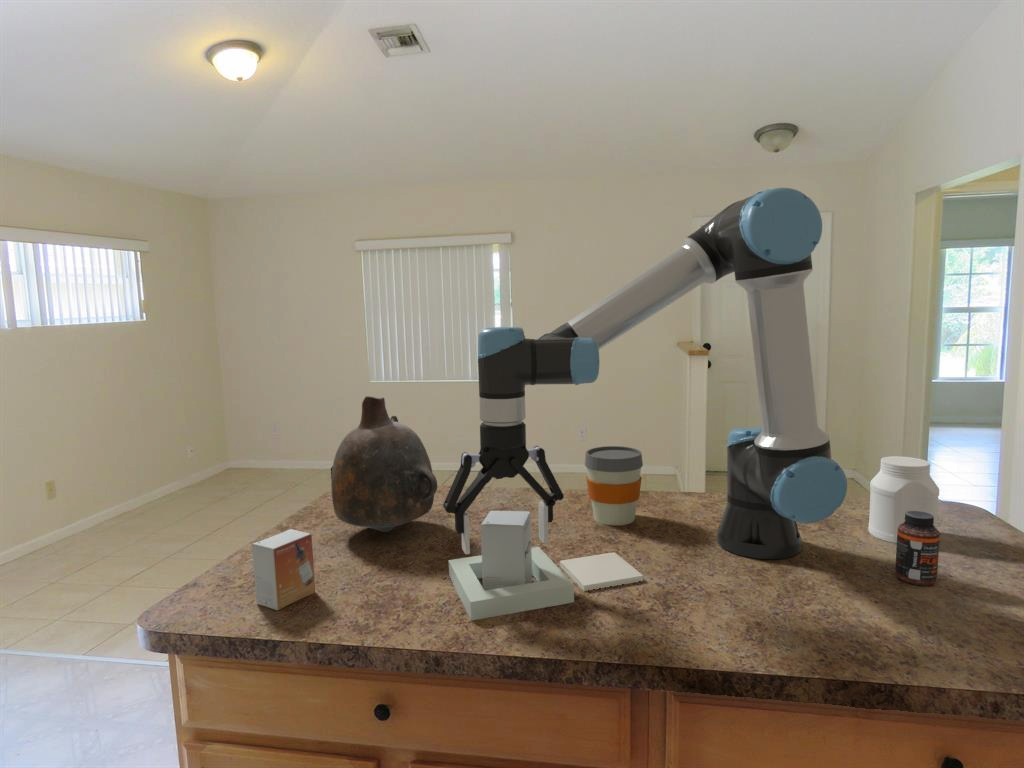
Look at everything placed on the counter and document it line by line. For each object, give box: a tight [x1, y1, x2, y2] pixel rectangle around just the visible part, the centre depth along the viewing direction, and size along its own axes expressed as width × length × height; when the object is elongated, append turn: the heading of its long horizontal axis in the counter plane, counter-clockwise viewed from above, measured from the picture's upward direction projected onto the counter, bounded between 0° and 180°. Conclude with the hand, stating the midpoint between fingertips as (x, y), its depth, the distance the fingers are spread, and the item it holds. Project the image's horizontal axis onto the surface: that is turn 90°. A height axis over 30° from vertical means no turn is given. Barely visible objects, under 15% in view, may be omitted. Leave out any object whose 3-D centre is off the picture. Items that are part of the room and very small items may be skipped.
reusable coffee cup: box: [584, 445, 644, 526], centre depth 139 cm, size 13×13×15 cm
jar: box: [868, 455, 940, 544], centre depth 125 cm, size 12×10×15 cm
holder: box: [447, 546, 575, 622], centre depth 107 cm, size 17×17×3 cm
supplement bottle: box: [894, 511, 941, 587], centre depth 105 cm, size 6×6×11 cm
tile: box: [559, 551, 644, 592], centre depth 112 cm, size 11×11×1 cm
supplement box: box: [480, 510, 533, 591], centre depth 107 cm, size 7×7×13 cm
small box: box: [251, 528, 316, 611], centre depth 106 cm, size 8×6×10 cm
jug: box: [330, 395, 438, 533], centre depth 135 cm, size 24×21×30 cm
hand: (505, 546), depth 106 cm, fingers open, 13 cm apart
